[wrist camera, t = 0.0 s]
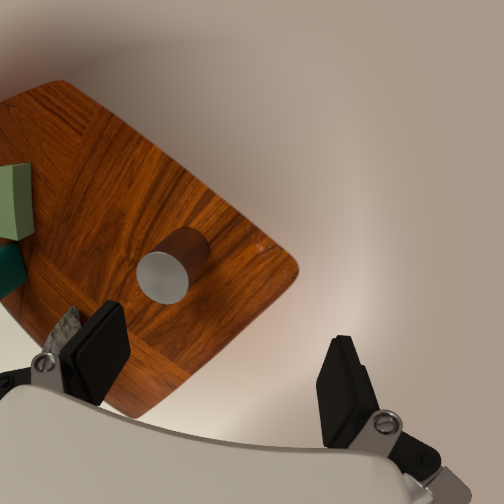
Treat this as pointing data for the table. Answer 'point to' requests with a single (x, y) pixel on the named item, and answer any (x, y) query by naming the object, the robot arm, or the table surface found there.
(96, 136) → the table surface
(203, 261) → the silver metal cylinder
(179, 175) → the table surface
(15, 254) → the dark green tall piece
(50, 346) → the decorative rock
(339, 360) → the robot arm
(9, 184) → the green block
